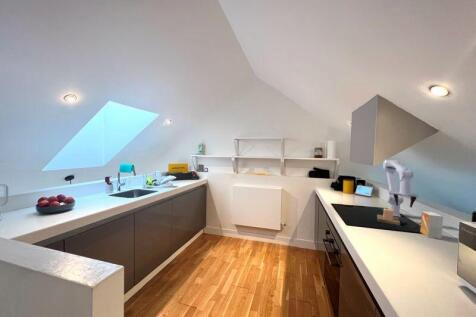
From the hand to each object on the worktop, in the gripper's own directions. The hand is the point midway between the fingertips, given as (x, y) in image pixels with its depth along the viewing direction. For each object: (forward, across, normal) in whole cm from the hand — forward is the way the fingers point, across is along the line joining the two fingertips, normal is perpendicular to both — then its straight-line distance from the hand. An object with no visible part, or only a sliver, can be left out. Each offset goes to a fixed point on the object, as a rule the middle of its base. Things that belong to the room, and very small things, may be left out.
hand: (403, 206), depth 144 cm
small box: (+11, +10, -24) cm, 28 cm away
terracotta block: (+8, -9, -8) cm, 15 cm away
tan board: (+10, -9, -8) cm, 16 cm away
